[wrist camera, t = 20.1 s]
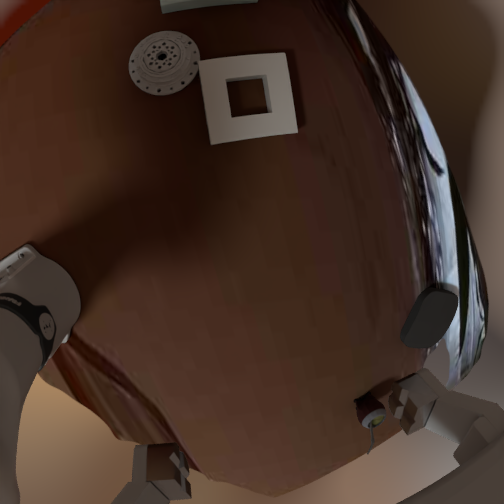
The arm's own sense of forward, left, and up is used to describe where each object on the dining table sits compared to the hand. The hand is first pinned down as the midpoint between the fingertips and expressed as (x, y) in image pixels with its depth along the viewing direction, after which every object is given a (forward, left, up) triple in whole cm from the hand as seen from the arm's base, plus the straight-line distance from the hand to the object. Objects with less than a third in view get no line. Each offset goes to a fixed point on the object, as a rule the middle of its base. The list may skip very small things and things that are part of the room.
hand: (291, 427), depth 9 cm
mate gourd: (+26, -54, -37) cm, 71 cm away
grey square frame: (+7, +15, -37) cm, 41 cm away
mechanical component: (-3, +22, -38) cm, 44 cm away
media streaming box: (+43, -33, -38) cm, 66 cm away
